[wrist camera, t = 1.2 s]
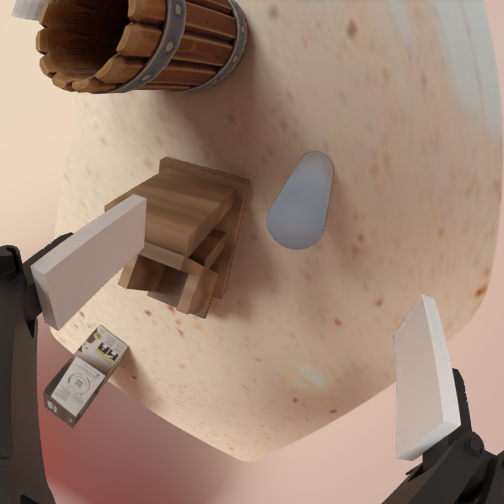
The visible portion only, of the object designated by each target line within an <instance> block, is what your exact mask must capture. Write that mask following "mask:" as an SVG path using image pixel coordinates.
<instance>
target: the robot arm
mask: <svg viewBox="0 0 504 504" xmlns="http://www.w3.org/2000/svg"><path fill="white" fill-rule="evenodd" d="M146 203H147V198H144V197H141V196H137V195H134V194H133V195H132V196H130V197H128V198H127V199H125V200H124V201H122V202H120V203H119V204H117V205H116V206H114V207H113V208H111V209H110V210H108V211H107V212H105V213H104V214H102V215H101V216H99V217H98V218H96V219H95V220H93V221H92V222H90V223H89V224H87V225H86V226H84V227H83V228H82V229H80V230H79V231H77V232H76V233H72V232H70V233H68V234H65V235H62V236H60V237H58V238H57V239H55V240H54V241H53V242H52V243H51V244H48V245H47V246H46V247H45V248H44V249H42V250H40V251H39V252H38V253H36V254H35V255H33V256H32V257H31V258H29V259H28V260H27V261H26V262H24V263H23V264H22V260H21V255H20V251H19V249H18V248H17V247H15V246H13V245H5V246H1V247H0V504H55V500H54V497H53V495H52V492H51V491H50V489H49V487H48V484H47V481H46V476H45V471H44V464H43V456H42V449H41V440H40V430H39V418H38V403H37V333H38V320H37V316H38V315H39V314H40V313H41V312H42V314H43V317H44V320H45V323H47V324H48V325H50V326H51V327H53V328H54V329H56V330H58V331H59V330H60V329H61V328H62V327H63V326H64V325H65V324H66V323H67V322H68V321H69V320H70V319H71V318H72V317H73V316H74V315H75V314H76V313H77V312H78V311H79V310H80V309H81V308H82V306H83V305H84V304H85V303H86V302H87V301H88V300H89V299H91V298H92V297H93V296H94V295H95V294H96V293H97V292H98V291H99V290H100V289H101V288H102V287H103V286H104V285H105V284H106V283H107V282H108V281H109V280H110V279H111V278H112V277H113V276H114V275H115V274H116V273H117V272H118V271H119V270H120V269H121V268H123V267H124V266H125V265H126V264H127V263H128V262H129V261H130V260H131V259H132V258H133V257H134V256H135V255H136V254H138V253H139V252H140V251H141V250H142V249H143V248H144V236H145V218H146ZM394 349H395V366H396V392H397V439H396V459H402V460H409V461H413V460H415V459H416V458H418V457H419V456H421V455H422V454H423V462H422V463H421V464H419V465H418V466H416V467H415V468H413V469H412V470H410V471H409V472H407V473H406V475H409V474H410V473H411V474H410V475H409V476H408V477H407V478H406V479H405V480H404V481H403V482H402V483H401V484H400V486H399V487H398V488H397V489H396V490H395V491H394V492H393V493H392V494H391V495H390V496H389V497H388V498H387V499H386V500H385V501H384V502H383V503H382V504H504V451H502V452H501V453H499V454H498V455H497V456H496V455H494V454H491V453H490V452H488V451H486V450H484V444H483V441H482V439H481V438H480V436H479V435H477V434H476V433H475V432H472V428H471V421H470V414H469V408H468V402H467V401H466V400H467V397H466V393H465V386H464V381H463V379H462V377H461V375H460V373H459V371H458V369H454V368H452V367H451V362H450V357H449V352H448V348H447V343H446V339H445V335H444V331H443V327H442V323H441V319H440V315H439V311H438V308H437V304H436V301H435V298H432V297H429V296H427V295H424V294H421V295H420V297H419V298H418V300H417V301H416V303H415V305H414V306H413V308H412V309H411V311H410V312H409V314H408V315H407V317H406V318H405V320H404V321H403V323H402V324H401V326H400V327H399V329H398V330H397V332H396V333H395V335H394Z"/></svg>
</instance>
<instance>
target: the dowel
mask: <svg viewBox="0 0 504 504" xmlns="http://www.w3.org/2000/svg"><path fill="white" fill-rule="evenodd" d="M333 173H334V167H333V163H332V161H331V159H330V158H329V157H328V156H327V155H325V154H324V153H321V152H317V151H313V152H309V153H307V154H305V155H304V156H303V157H302V158H301V159H300V161H299V162H298V164H297V166H296V167H295V169H294V171H293V172H292V174H291V176H290V177H289V179H288V180H287V182H286V184H285V185H284V187H283V189H282V190H281V192H280V194H279V195H278V197H277V199H276V200H275V202H274V204H273V205H272V207H271V208H270V210H269V213H268V216H267V226H268V230H269V232H270V234H271V236H272V237H273V238H274V239H275V240H276V241H277V242H278V243H279V244H281V245H282V246H284V247H287V248H290V249H295V250H300V249H306V248H309V247H311V246H313V245H314V244H315V243H317V242H318V241H319V239H320V238H321V236H322V234H323V231H324V226H325V221H326V215H327V209H328V203H329V197H330V191H331V185H332V179H333Z"/></svg>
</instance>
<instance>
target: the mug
mask: <svg viewBox="0 0 504 504" xmlns="http://www.w3.org/2000/svg"><path fill="white" fill-rule="evenodd" d="M12 16H14V17H18V18H23V19H29V20H37V21H39V23H40V24H41V25H42V26H43V27H45V28H44V29H42V30H41V31H39V32H38V34H37V36H36V49H37V51H38V52H39V53H41V54H43V55H45V56H43V57H42V58H41V59H40V67H41V69H42V71H43V73H44V74H45V75H47V76H48V77H50V78H51V79H52V81H53V84H54V85H55V86H57V87H59V88H61V89H63V90H67V91H70V92H74V91H77V92H79V93H81V92H89V93H92V94H107V93H125V92H128V91H131V90H165V91H168V92H194V91H199V90H204V89H206V88H208V87H210V86H213V85H215V84H217V83H219V82H221V81H222V80H223V79H225V78H226V77H227V76H229V73H230V72H231V71H232V69H235V68H236V67H237V65H238V64H239V62H240V61H241V59H242V57H243V55H244V53H245V49H244V47H245V44H246V43H247V42H248V26H247V23H246V22H245V17H244V13H243V11H242V10H241V8H240V6H239V5H238V4H237V3H236V2H235V1H234V0H17V1H16V4H15V7H14V10H13V13H12Z"/></svg>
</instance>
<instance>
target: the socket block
mask: <svg viewBox="0 0 504 504" xmlns="http://www.w3.org/2000/svg"><path fill="white" fill-rule="evenodd" d="M249 183H250V180H247V179H243V178H240V177H237V176H233V175H230V174H226V173H223V172H220V171H216V170H213V169H209V168H206V167H202V166H198V165H195V164H191V163H187V162H184V161H180V160H176V159H172V158H169V157H165V158H163V159H161V160H160V167H159V174H157V175H155V176H153V177H152V178H150V179H148V180H146V181H145V182H143V183H141V184H140V185H138V186H136V187H135V188H133V189H131V190H130V191H128V192H126V193H125V194H123V195H121V196H120V197H118V198H117V199H115V200H113V201H112V202H110V203H109V204H107V205H105V212H107V211H108V210H110V209H111V208H113V207H114V206H116V205H117V204H119V203H120V202H122V201H124V200H125V199H127V198H128V197H130V196H132V195H133V194H134V195H137V196H141V197H144V198H147V203H146V218H145V236H144V248H143V249H142V250H141V251H140V252H139V253H138V254H136V255H135V256H134V257H133V258H132V259H131V260H130V261H129V262H128V263H127V264H126V265H125V266H124V268H123V271H122V274H121V277H120V280H119V283H118V285H120V286H122V287H124V288H126V289H135V290H144V291H148V294H147V296H150V297H152V298H154V299H157V300H159V301H162V302H164V303H166V304H169V305H171V306H174V307H176V308H177V309H176V310H178V311H180V312H183V313H185V314H193V315H196V316H198V317H201V318H203V319H204V318H206V315H207V312H208V310H209V307H210V304H211V301H212V299H213V296H214V297H217V298H220V299H221V298H222V297H223V295H224V293H225V289H226V285H227V280H228V276H229V271H230V267H231V262H232V258H233V253H234V249H235V244H236V240H237V235H238V231H239V226H240V222H241V218H242V213H243V209H244V205H245V200H246V196H247V192H248V187H249Z"/></svg>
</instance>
